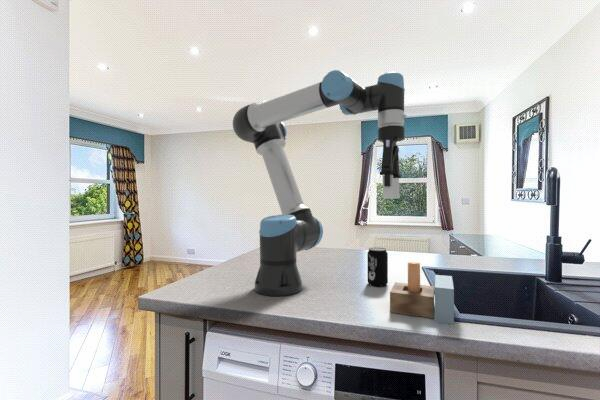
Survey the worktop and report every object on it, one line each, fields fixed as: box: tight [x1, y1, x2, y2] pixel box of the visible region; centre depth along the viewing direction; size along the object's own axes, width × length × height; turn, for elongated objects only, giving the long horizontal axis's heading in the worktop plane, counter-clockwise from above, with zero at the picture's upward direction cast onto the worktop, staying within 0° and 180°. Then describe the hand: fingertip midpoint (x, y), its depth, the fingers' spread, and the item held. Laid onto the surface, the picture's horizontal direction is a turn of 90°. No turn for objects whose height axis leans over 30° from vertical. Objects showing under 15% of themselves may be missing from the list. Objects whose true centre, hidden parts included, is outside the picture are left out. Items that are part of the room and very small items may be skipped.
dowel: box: [407, 261, 421, 292], centre depth 80 cm, size 3×3×12 cm
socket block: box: [389, 282, 435, 319], centre depth 81 cm, size 10×10×5 cm
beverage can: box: [367, 247, 389, 288], centre depth 104 cm, size 7×7×12 cm
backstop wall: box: [434, 274, 455, 325], centre depth 77 cm, size 4×13×8 cm, turn 156°
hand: (391, 198), depth 92 cm, fingers open, 13 cm apart
